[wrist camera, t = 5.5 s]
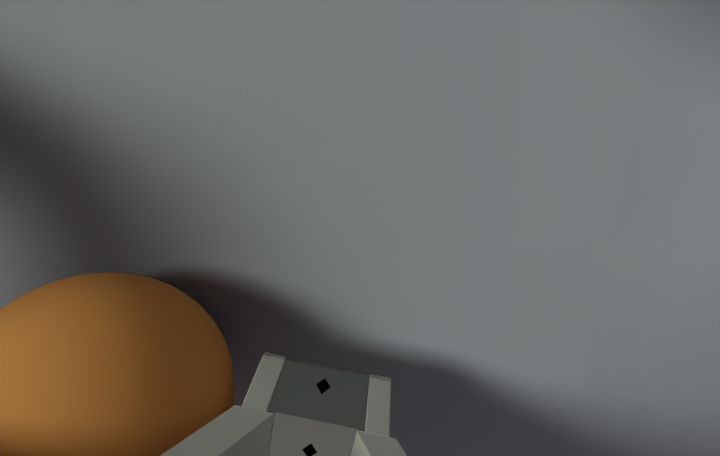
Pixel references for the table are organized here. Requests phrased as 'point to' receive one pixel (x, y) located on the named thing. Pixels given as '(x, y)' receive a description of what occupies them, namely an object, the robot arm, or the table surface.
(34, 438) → the ball
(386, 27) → the table surface
